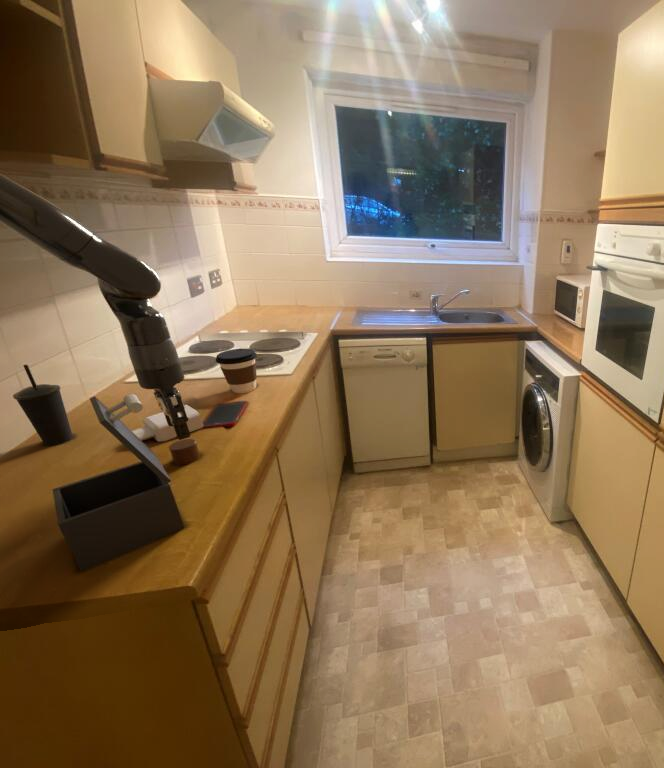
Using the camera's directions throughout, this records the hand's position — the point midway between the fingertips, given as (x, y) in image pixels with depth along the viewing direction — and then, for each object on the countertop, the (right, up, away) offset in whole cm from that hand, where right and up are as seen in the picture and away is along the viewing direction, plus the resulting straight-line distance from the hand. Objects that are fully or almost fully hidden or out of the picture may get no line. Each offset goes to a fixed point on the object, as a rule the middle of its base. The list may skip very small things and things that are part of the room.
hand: (179, 431), depth 95 cm
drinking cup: (-37, -4, +10) cm, 38 cm away
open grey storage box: (+6, -16, -19) cm, 25 cm away
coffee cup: (-11, +8, +41) cm, 43 cm away
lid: (+9, +1, -22) cm, 24 cm away
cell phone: (-5, +1, +24) cm, 24 cm away
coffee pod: (0, -7, +3) cm, 8 cm away
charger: (-14, -3, +13) cm, 20 cm away
